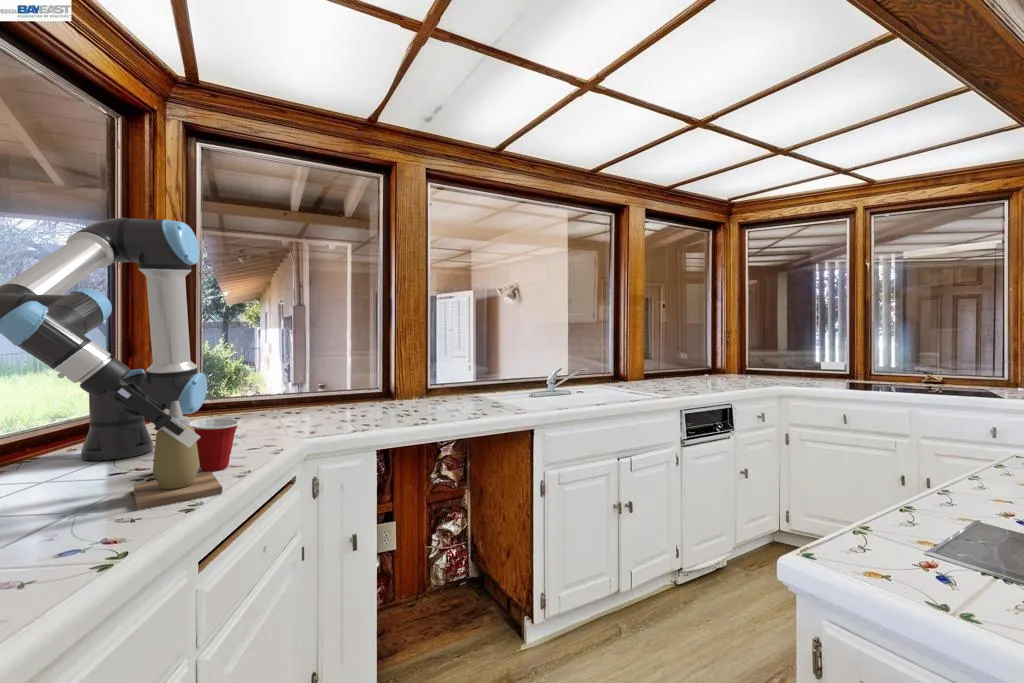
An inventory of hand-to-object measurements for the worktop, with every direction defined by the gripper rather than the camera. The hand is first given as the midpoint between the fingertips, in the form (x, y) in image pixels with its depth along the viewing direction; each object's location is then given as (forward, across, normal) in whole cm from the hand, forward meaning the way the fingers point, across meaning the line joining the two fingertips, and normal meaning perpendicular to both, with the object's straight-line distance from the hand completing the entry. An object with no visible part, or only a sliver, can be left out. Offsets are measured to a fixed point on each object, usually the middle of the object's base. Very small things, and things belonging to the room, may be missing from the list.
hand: (190, 436), depth 99 cm
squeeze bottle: (+6, 0, -9) cm, 11 cm away
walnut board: (+7, 0, -10) cm, 12 cm away
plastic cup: (+13, -15, -4) cm, 20 cm away
